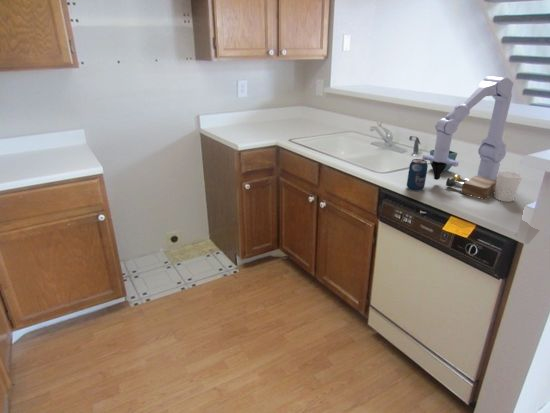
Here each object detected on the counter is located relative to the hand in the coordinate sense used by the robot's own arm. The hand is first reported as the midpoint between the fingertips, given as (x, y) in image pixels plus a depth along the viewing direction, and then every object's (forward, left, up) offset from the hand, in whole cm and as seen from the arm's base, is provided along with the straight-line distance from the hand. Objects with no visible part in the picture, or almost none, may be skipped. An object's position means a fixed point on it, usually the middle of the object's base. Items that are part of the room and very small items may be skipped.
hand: (436, 179), depth 163 cm
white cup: (-3, +26, -2) cm, 26 cm away
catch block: (-3, +17, -2) cm, 17 cm away
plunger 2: (-6, +10, -2) cm, 12 cm away
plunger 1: (0, +10, -2) cm, 10 cm away
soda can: (+12, -3, -2) cm, 13 cm away
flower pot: (-21, -7, -2) cm, 22 cm away
